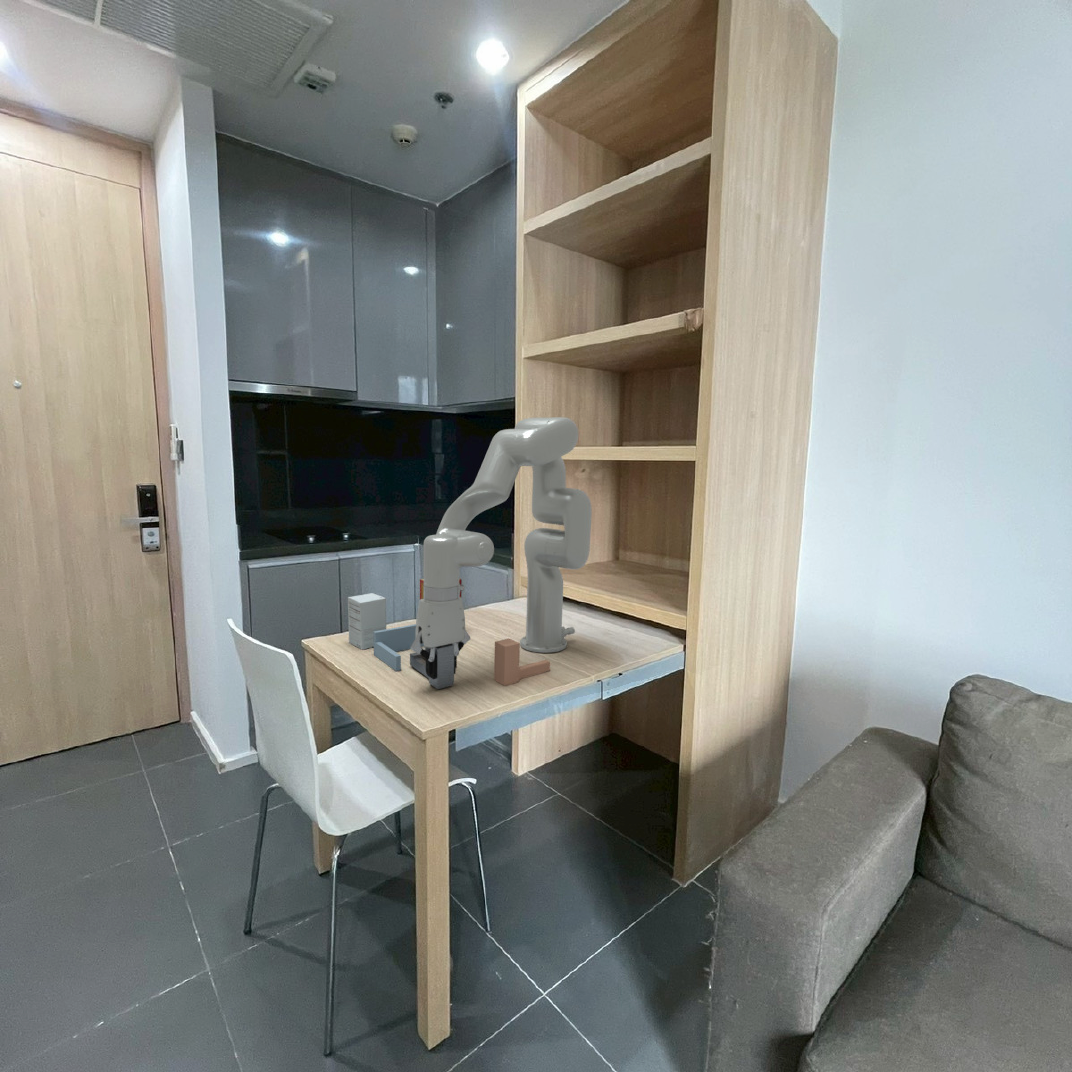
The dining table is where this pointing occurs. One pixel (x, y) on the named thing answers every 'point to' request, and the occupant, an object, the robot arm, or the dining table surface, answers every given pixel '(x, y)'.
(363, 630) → the supplement box
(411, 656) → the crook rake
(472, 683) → the dining table surface
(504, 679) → the salmon l-shaped piece
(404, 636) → the cubby
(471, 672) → the dining table surface
